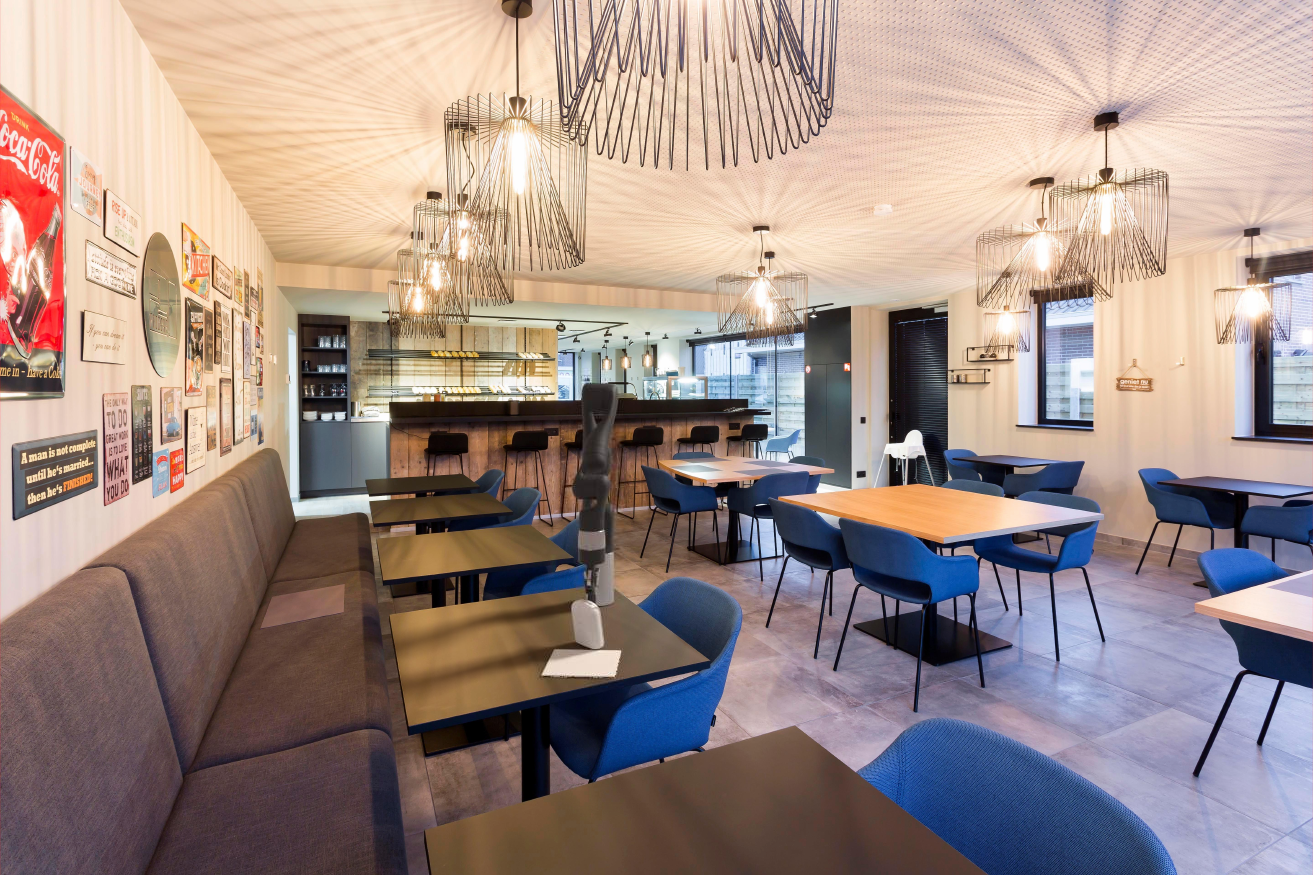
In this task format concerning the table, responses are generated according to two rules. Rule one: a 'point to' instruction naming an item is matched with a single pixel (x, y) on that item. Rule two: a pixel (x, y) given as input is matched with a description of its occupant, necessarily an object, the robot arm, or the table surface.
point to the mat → (582, 663)
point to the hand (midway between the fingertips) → (591, 606)
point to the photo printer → (587, 624)
